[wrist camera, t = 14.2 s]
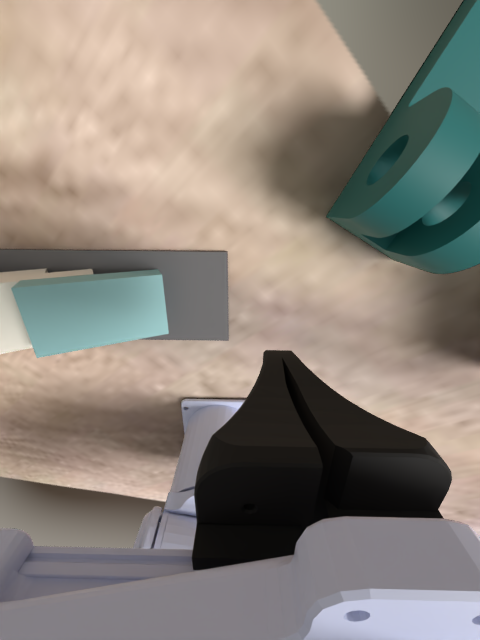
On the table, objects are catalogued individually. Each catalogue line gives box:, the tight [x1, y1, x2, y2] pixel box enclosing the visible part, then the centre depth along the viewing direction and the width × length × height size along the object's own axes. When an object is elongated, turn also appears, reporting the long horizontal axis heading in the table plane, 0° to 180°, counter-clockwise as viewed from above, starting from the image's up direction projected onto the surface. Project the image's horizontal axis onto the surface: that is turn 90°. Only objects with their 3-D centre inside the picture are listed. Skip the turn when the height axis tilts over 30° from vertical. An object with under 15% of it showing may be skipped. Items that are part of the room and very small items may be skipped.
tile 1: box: [11, 269, 169, 358], centre depth 19 cm, size 5×2×9 cm
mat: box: [0, 249, 229, 341], centre depth 22 cm, size 8×24×1 cm, turn 90°
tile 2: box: [0, 269, 93, 354], centre depth 19 cm, size 5×2×9 cm
